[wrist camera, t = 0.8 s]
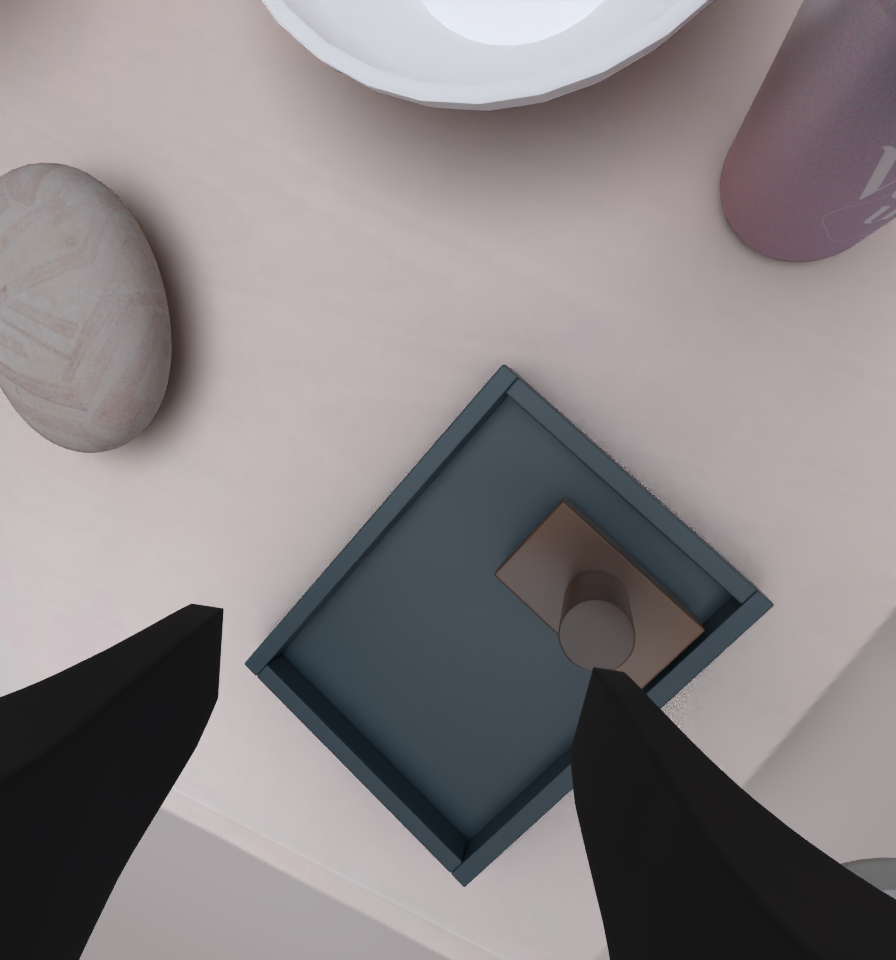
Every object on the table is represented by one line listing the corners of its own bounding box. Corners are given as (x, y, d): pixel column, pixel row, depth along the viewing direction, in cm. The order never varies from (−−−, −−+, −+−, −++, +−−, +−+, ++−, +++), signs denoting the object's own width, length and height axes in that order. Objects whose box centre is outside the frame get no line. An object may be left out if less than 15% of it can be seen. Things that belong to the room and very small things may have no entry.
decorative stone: (222, 432, 30) (152, 434, 26) (67, 465, 33) (-25, 472, 28) (167, 160, 30) (84, 109, 25) (12, 211, 32) (-92, 174, 27)
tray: (760, 590, 26) (774, 605, 24) (473, 855, 30) (464, 888, 28) (510, 367, 27) (503, 363, 25) (266, 648, 31) (243, 664, 29)
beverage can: (884, 84, 23) (1371, -477, 9) (896, 251, 24) (1378, -19, 9) (710, 121, 25) (877, -310, 10) (723, 278, 25) (903, 81, 10)
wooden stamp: (696, 611, 26) (728, 672, 20) (625, 677, 27) (635, 755, 20) (565, 493, 27) (557, 515, 20) (501, 561, 27) (474, 603, 21)
